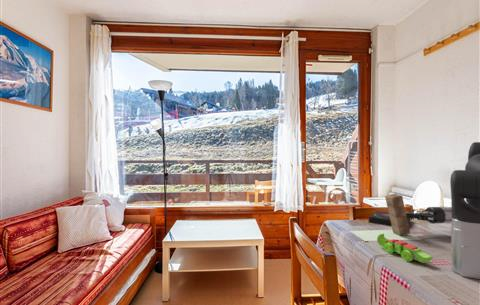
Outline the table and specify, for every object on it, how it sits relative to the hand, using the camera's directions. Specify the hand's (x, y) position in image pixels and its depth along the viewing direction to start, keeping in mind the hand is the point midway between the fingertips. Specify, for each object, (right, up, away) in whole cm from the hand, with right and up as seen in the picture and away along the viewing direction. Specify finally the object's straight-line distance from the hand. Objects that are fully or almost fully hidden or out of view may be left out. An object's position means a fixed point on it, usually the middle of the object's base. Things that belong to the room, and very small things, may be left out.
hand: (404, 215), depth 122 cm
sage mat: (-10, -9, 0) cm, 13 cm away
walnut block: (-1, -8, 0) cm, 8 cm away
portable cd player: (+5, -10, +21) cm, 24 cm away
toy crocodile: (-15, -10, -23) cm, 29 cm away
